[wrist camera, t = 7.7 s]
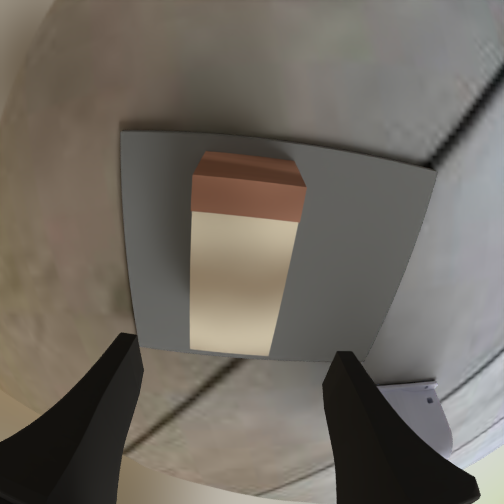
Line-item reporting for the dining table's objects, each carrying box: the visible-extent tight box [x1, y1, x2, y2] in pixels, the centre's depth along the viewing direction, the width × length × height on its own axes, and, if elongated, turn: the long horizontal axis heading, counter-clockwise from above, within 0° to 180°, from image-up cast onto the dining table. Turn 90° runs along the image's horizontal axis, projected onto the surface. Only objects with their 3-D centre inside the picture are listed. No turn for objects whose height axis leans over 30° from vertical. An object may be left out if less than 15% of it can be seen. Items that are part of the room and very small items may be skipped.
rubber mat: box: [121, 130, 438, 362], centre depth 20 cm, size 18×16×1 cm
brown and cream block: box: [190, 151, 307, 356], centre depth 17 cm, size 10×5×4 cm, turn 173°
